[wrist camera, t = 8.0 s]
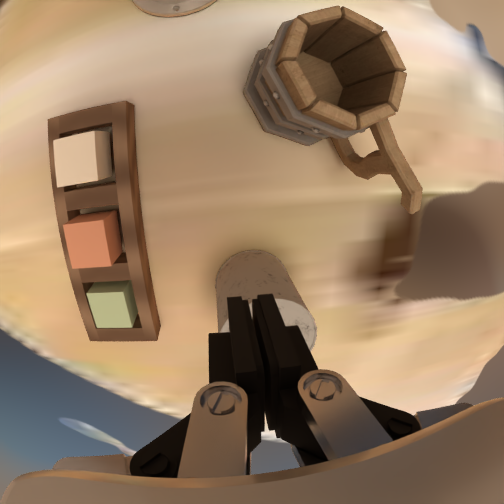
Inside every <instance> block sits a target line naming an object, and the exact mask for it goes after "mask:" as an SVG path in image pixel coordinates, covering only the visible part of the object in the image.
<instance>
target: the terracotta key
mask: <svg viewBox="0 0 504 504" xmlns="http://www.w3.org/2000/svg"><path fill="white" fill-rule="evenodd" d="M63 228H64V233H65V238H66V243H67V248H68V253H69V257H70V261H71V265H72V269H78V268H93V267H108V266H112V265H113V264H114V262H115V261H116V260H117V258H118V257H119V256H120V254H121V253H122V252H123V250H122V244H121V238H120V232H119V225H118V218H117V211H116V210H114V211H105V212H97V213H89V214H81V215H78V216H77V217H75V218H73V219H72V220H70V221H68V222H67V223H65V224H64V225H63Z"/></svg>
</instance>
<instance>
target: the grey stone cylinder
mask: <svg viewBox="0 0 504 504" xmlns="http://www.w3.org/2000/svg"><path fill="white" fill-rule="evenodd" d="M215 288H216V295H217V317H218V333H222V332H229V320H228V308H227V297H236V296H242V300H247V299H248V303H249V307H250V311H251V316H252V299H257V295H260V294H271V293H272V294H273V296H274V298H275V301H276V303H277V306H278V308H279V311H280V313H281V316H282V318H283V321H284V323H285V326H293V325H298V326H299V328H300V330H301V332H302V335H303V337H304V339H305V341H306V343H307V345H308V348H309V350H310V352H311V350H312V349H313V347H314V345H315V341H316V337H317V327H316V323H315V320H314V318H313V316H312V315H311V313H310V312H309V311H308V309H307V307H306V305H305V304H304V302H303V300H302V298H301V297H300V295H299V293H298V291H297V289H296V288H295V286H294V284H293V282H292V281H291V279H290V277H289V275H288V273H287V271H286V269H285V267H284V265H283V264H282V262H281V261H280V260H279V259H278V258H276V257H275V256H273V255H272V254H270V253H268V252H264V251H260V250H249V251H243V252H241V253H238V254H236V255H234V256H232V257H231V258H229V259H228V260H227V261H226V262H225V263H224V264H223V265H222V267H221V268H220V270H219V272H218V274H217V277H216V286H215Z"/></svg>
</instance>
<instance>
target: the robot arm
mask: <svg viewBox="0 0 504 504" xmlns="http://www.w3.org/2000/svg"><path fill="white" fill-rule="evenodd" d="M132 1H133V3H134V4H135V5H136V6H137V7H138V8H139V9H141V10H142V11H144V12H146V13H149V14H151V15H156V16H162V17H174V16H182V15H187V14H191V13H194V12H197V11H200V10H202V9H204V8H206V7H208V6H209V5H211V4H212V3H214V2H215V1H217V0H132ZM176 10H178V11H176ZM227 308H228V320H229V332H222V333H209V384H208V385H206V386H204V387H202V388H201V389H200V390H199V391H198V392H197V394H196V396H195V398H194V402H193V407H192V411H191V413H190V414H189V415H188V416H186V417H185V418H184V419H182V420H181V421H180V422H178V423H177V424H175V425H174V426H173V427H171V428H170V429H169V430H167V431H166V432H165V433H163V434H162V435H160V436H159V437H158V438H156V439H155V440H153V441H152V442H150V443H149V444H148V445H146V446H145V447H143V448H142V449H140V450H139V451H138V452H137V453H135V454H134V455H133V456H128V457H125V455H124V454H117V455H105V456H90V457H89V456H88V457H66V458H62V459H60V460H59V461H57V462H56V464H55V465H54V466H53V469H52V470H42V471H35V472H30V473H26V474H23V475H20V476H18V477H17V478H15V479H14V480H13V481H12V482H11V483H10V484H9V486H8V487H7V489H6V490H5V492H4V494H3V496H2V499H1V501H0V504H504V397H502V398H497V399H493V400H489V401H486V402H482V403H480V404H477V405H475V406H473V405H472V404H469V403H459V404H455V405H450V406H446V407H441V408H436V409H431V410H425V411H420V412H416V414H415V415H411V414H409V413H407V412H404V411H401V410H398V409H395V408H392V407H388V406H385V405H382V404H379V403H376V402H373V401H370V400H368V399H365V398H362V397H359V396H358V395H357V394H356V392H355V391H354V390H353V389H352V387H351V386H350V385H349V383H348V382H347V381H346V380H345V379H344V378H343V377H342V376H341V375H340V374H338V373H336V372H334V371H330V370H322V369H318V367H317V365H316V363H315V361H314V359H313V356H312V354H311V352H310V350H309V348H308V345H307V343H306V341H305V339H304V337H303V335H302V332H301V330H300V328H299V326H298V325H293V326H285V323H284V321H283V318H282V316H281V313H280V311H279V308H278V306H277V303H276V301H275V298H274V296H273V294H272V293H271V294H260V295H257V299H252V316H251V311H250V307H249V303H248V299H247V300H242V296H236V297H227ZM265 415H266V419H267V424H268V428H269V431H271V430H275V433H276V437H277V438H281V439H282V440H284V441H286V442H288V443H290V444H291V449H292V452H293V454H294V456H295V458H296V460H297V462H298V463H299V466H300V467H299V468H294V469H288V470H282V471H277V472H269V473H262V474H254V475H251V451H253V449H254V448H255V447H256V446H257V445H258V444H259V443H260V442H261V432H263V431H264V427H265Z"/></svg>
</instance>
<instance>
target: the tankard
mask: <svg viewBox="0 0 504 504" xmlns="http://www.w3.org/2000/svg"><path fill="white" fill-rule="evenodd" d="M382 29H383V27H381V26H380V25H378V24H376V23H374V22H373V21H371V20H369V19H367V18H365V17H363V16H361V15H360V14H358V13H356V12H354V11H352V10H350V9H348V8H345V7H343V6H342V7H341V8H340V6H334V7H330V8H325V9H321V10H317V11H313V12H309V13H305V14H302V15H298V16H297V18H295V19H293V20H289V21H286V22H283V23H282V24H281V26H280V28H279V29H278V31H277V33H276V36H275V39H274V40H272V41H271V42H270V44H269V46H268V47H267V48H264V49H262V50H259V51H258V52H257V54H256V57H255V59H254V62H253V65H252V68H251V71H250V73H249V76H248V79H247V82H246V85H245V88H244V91H243V94H244V95H245V97H246V99H247V101H248V102H249V104H250V106H251V108H252V110H253V111H254V113H255V115H256V117H257V119H258V121H259V122H260V124H261V126H262V128H263V130H264V131H265V132H268V133H271V134H274V135H277V136H280V137H283V138H286V139H289V140H292V141H295V142H298V143H300V144H303V145H306V146H310V145H312V144H314V143H316V142H318V141H320V140H322V139H325V138H327V137H331V139H332V141H333V143H334V146H335V148H336V150H337V152H338V154H339V155H340V157H341V159H342V161H343V163H344V165H345V166H347V167H348V168H349V169H350V170H351V171H352V172H353V173H354V174H355V175H356V176H358V177H361V178H364V179H367V180H368V179H370V178H372V177H374V176H375V175H377V174H391V175H392V177H393V178H394V180H395V182H396V183H397V185H398V186H399V188H400V190H401V191H402V198H401V204H402V206H403V207H404V208H405V209H406V210H407V211H408V212H409V213H410V214H413V213H415V212H417V211H418V210H420V205H421V197H422V187H421V185H420V183H419V182H418V180H417V178H416V176H415V175H414V173H413V171H412V170H411V168H410V166H409V164H408V163H407V161H406V159H405V157H404V156H403V154H402V152H401V150H400V149H399V147H398V145H397V142H396V139H395V136H394V134H393V131H392V129H391V126H390V123H389V121H388V117H390V116H393V115H395V112H398V109H399V105H400V101H401V97H402V93H403V89H404V85H405V80H406V76H407V73H405V72H403V71H405V70H406V68H405V66H404V64H403V62H402V60H401V58H400V56H399V54H398V52H397V50H396V48H395V46H394V44H393V42H392V40H391V38H390V37H389V35H388V33H387V31H382ZM381 31H382V32H381ZM369 127H370V129H371V132H372V134H373V136H374V138H375V141H376V143H377V145H378V148H379V150H376V151H374V152H372V153H370V154H368V155H367V156H366V157H364V158H362V157H360V156H359V155H358V154H356V153H355V151H354V150H353V148H352V146H351V144H350V142H349V140H348V137H350V136H352V135H354V134H356V133H358V132H360V133H362V132H364V131H365V129H367V128H369Z"/></svg>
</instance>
